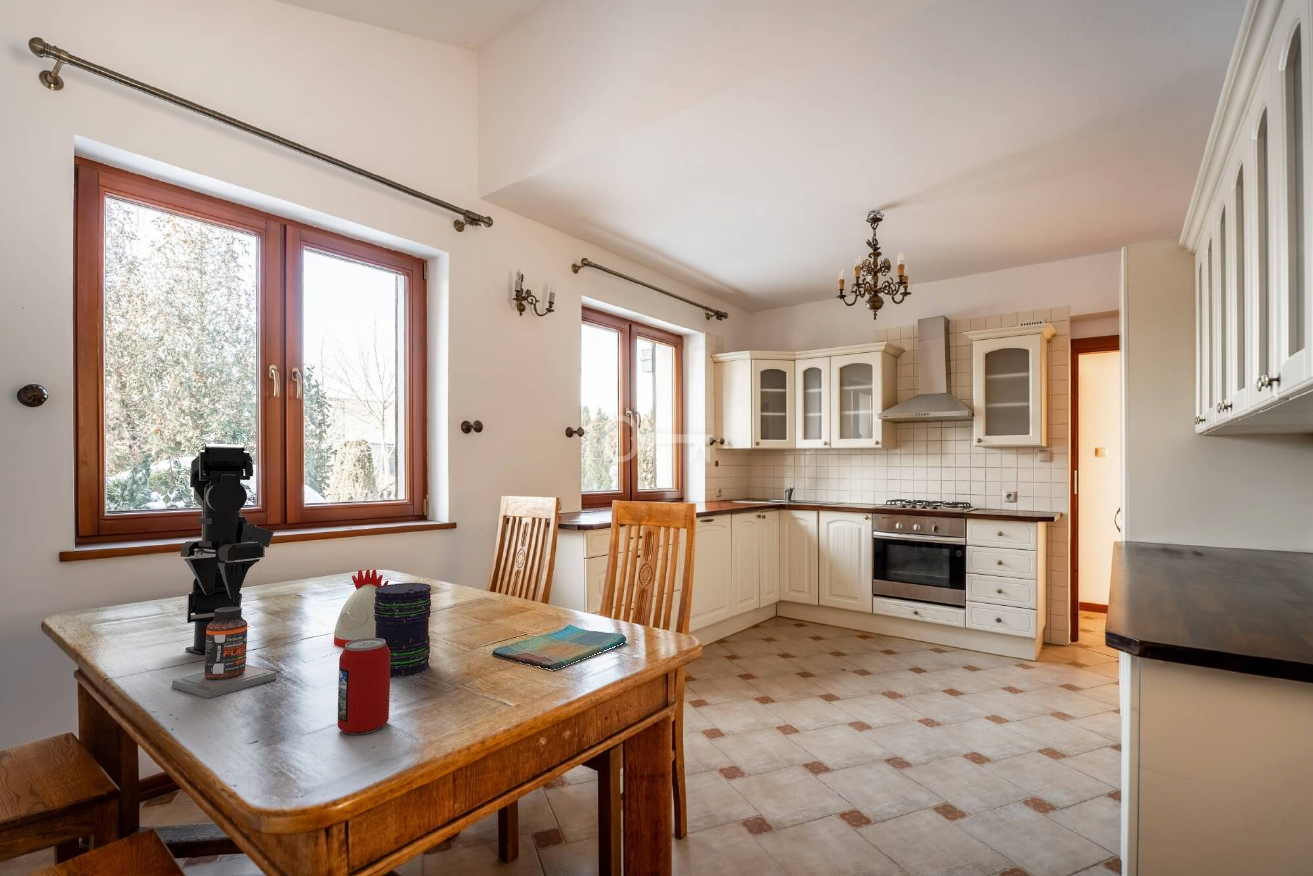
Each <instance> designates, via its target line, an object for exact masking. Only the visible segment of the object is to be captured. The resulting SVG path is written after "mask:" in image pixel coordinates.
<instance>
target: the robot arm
mask: <svg viewBox="0 0 1313 876" xmlns="http://www.w3.org/2000/svg"><path fill="white" fill-rule="evenodd" d="M198 453H199V454H198V456H196V457H195V458H194V459H193V460H191V461H190V471H189V472H190V473H189V488H190V489H191V488H192V489H193V499H194V500H195V501H196V502H197V504H198V505H199V506H200V507H201V510H202V511H201V517H200V518H198V524H199V525H201V539H200V540H189V541H186V542H184V543H183V544H181V546H180V557H184V560H183V561H184V562H186V564H187V565H188V567H189V568H190V570H191V572H192V574H193V575H194V577H195V578H194V580H193V583H192V588H191V591H188V592H187V602H186V603H187V604H186V618H185V619H186V623H187V624H190V623H194V632H193V633H194V635H193V645H192V646H188V647H185V651H186V652H191V653H195V654H198V655H205V649H206V630H207V626H208V625H209V624H210V623H211V622H212V621H213V620H214V610H216V609H219V608H224V607H241V606H242V599H243V594H242V593H241V590H242V588H243V585H244V581H245V578H246V576H247V573H248V572H249V569H250V568H252V567H253V565H255V564H256V563H259V562H260V560H261V558H264V557H265V556H266V555H265V552H266V551H265V550H266V549H265V548H269V547H270V546H271V545H270V544H271V542H272V540H273V536H274V534H275V531H272V530H269V529H267V528H262V527H258V526H257V524H254V523H250V522H248V518H246V516H242V508H243V507H244V506H245V505H246V503H247V500H248V493H247V490H246V488H245V487H244V486H243V485H242V484H241V481H251V477H253V476H254V466H253V463H254V462H253V457H252V456H251V455H250V454H251V453H250V452H249V451H248V450H246V447H245V446H244V445H243V444H242V445H241V444H228V443H225V444H223V443H206V444H203V445H202V450H201V449H200V450H199V452H198ZM241 608H242V607H241Z"/></svg>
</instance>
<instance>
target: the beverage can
mask: <svg viewBox="0 0 1313 876" xmlns="http://www.w3.org/2000/svg"><path fill="white" fill-rule="evenodd" d="M338 661H339V662H338V684H337V685H338V687H337V689H338V690H337V691H338V692H337V728H338V730H340V731H342V732H345V734H349V735H364V734H369V733H372V732H375V731H378V730H379V729H380V728H382V727H383V726H384V725H385V724H387V722H389V719H390V718H389V717H390V693H391V692H390V691H391V678H390V650H389V648H388V646H387V645H386V641H385V640H384V639H381V638H364V639H358V640H353V641H350V642H348V643H346V644H345V647H343V649H342V651H341V653H340V655H339V659H338Z"/></svg>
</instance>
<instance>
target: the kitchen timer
mask: <svg viewBox="0 0 1313 876" xmlns="http://www.w3.org/2000/svg"><path fill="white" fill-rule="evenodd" d="M383 577H384V575H383V574H381V575H379V576H378V575H377V569H373V570H372V572H371V571H370V569H366V570H365V573H364V574H363V570H362V569H358V571H357V576H356V575H351V578H352V582H353V584H354V585H353V586H354V587H355V589H356V590H355V591H354V592H352V594H351V595H349V597H348V598H347V600H346V601H345V603H344V604H343V606H342V608H341V610H340V613H339V616H338V617H337V621H336V624H335V626H334V627H335V628H334V634H333V644H334V645H335V646H337V647H339V648H345V644H346V643H348V642H350V641H353V640H358V639H364V638H375V632H376V621H375V620H374V615H375V610H374V603H375V597H376V594H375V589H376V588H377V587H380V586H384V585H389V583H390V582H389V581H390V580H389V579H388V580H385V581H384V582H383V584H382V580H383Z"/></svg>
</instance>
